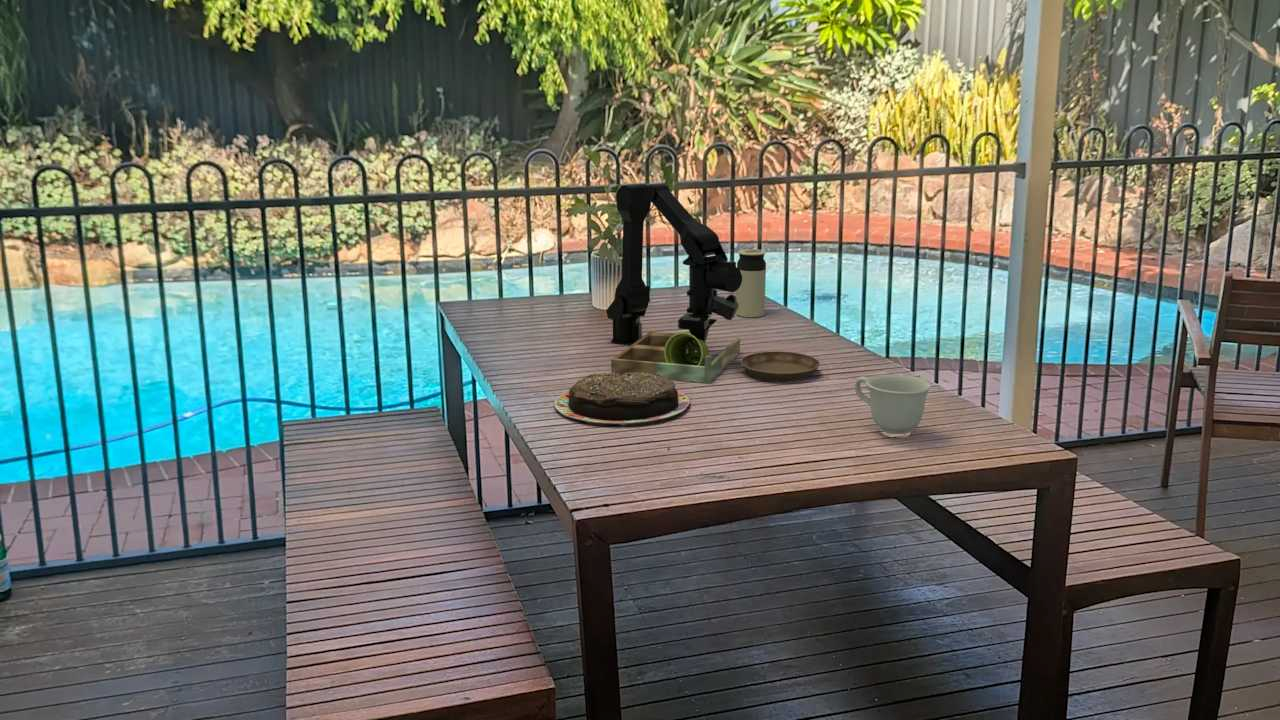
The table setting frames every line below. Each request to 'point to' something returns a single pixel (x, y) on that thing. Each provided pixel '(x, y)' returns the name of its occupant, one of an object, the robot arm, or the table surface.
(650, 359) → the compartment box
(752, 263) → the travel mug
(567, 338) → the table surface
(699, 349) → the plant pot
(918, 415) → the teacup
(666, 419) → the chocolate cake
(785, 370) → the plant saucer
